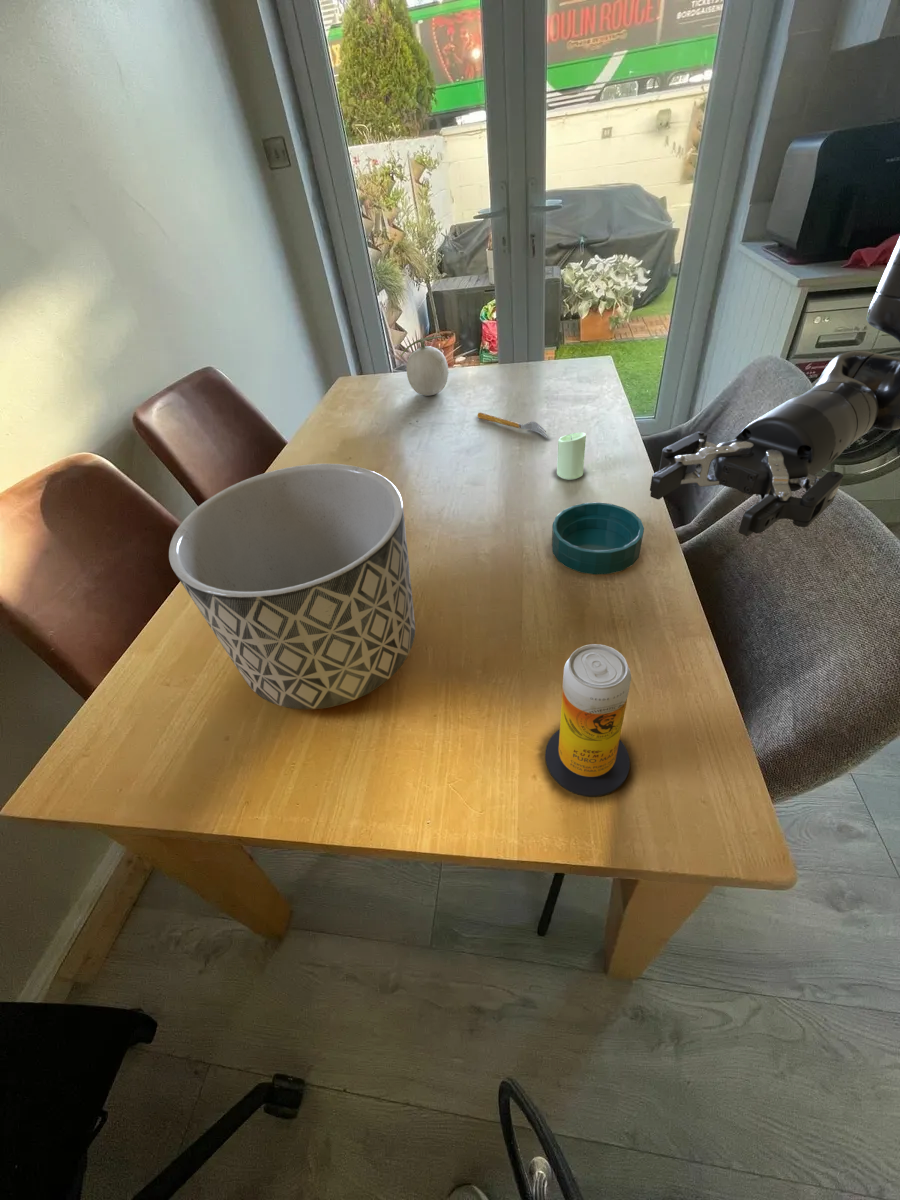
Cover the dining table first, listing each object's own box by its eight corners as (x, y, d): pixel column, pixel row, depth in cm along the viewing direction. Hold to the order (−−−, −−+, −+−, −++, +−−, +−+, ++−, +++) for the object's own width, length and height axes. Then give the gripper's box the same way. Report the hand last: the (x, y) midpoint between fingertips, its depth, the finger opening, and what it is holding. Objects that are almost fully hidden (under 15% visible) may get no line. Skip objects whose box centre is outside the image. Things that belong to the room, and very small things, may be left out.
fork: (474, 413, 128) (545, 430, 116) (479, 408, 128) (550, 425, 117) (476, 422, 130) (547, 440, 118) (481, 417, 130) (552, 435, 119)
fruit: (406, 389, 147) (397, 329, 137) (449, 384, 147) (443, 323, 137) (406, 404, 139) (397, 342, 129) (451, 399, 139) (445, 336, 129)
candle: (551, 473, 107) (552, 434, 102) (569, 464, 109) (571, 424, 104) (570, 482, 104) (573, 442, 98) (588, 472, 106) (592, 432, 101)
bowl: (644, 531, 90) (648, 508, 87) (633, 583, 81) (637, 559, 78) (562, 520, 95) (563, 498, 92) (542, 568, 86) (543, 545, 83)
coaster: (634, 736, 62) (635, 734, 62) (622, 808, 56) (623, 806, 56) (555, 716, 65) (555, 714, 65) (536, 782, 59) (536, 780, 59)
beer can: (572, 788, 58) (581, 698, 48) (549, 740, 62) (553, 650, 52) (625, 771, 59) (645, 680, 49) (599, 726, 63) (612, 634, 53)
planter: (402, 740, 65) (365, 601, 50) (203, 721, 69) (117, 590, 55) (442, 594, 83) (423, 462, 69) (283, 587, 88) (235, 463, 74)
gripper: (734, 386, 56) (633, 441, 49) (893, 423, 47) (795, 497, 40) (718, 454, 61) (624, 513, 54) (859, 500, 52) (767, 577, 45)
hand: (697, 506), depth 47 cm, fingers open, 8 cm apart
